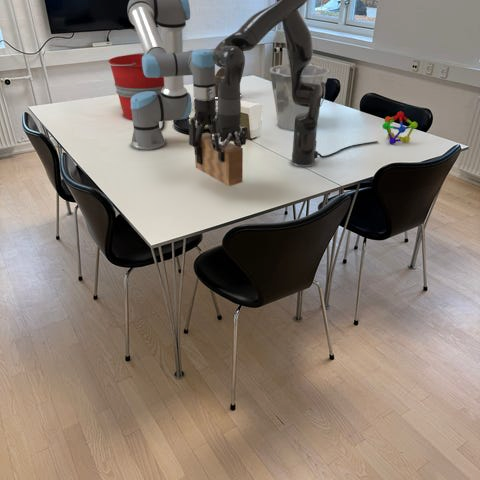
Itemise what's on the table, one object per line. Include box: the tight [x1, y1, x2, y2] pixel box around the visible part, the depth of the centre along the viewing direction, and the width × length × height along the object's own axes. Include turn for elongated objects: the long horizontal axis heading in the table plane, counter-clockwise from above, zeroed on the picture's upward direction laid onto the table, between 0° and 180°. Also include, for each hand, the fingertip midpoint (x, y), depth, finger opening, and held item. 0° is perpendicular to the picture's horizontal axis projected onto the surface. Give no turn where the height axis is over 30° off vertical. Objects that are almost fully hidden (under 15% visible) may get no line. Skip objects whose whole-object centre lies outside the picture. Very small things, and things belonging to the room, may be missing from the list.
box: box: [194, 132, 244, 187], centre depth 159 cm, size 21×6×12 cm, turn 38°
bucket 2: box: [269, 64, 330, 131], centre depth 226 cm, size 30×30×28 cm
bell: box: [215, 67, 242, 97], centre depth 278 cm, size 19×26×20 cm
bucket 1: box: [105, 52, 164, 121], centre depth 241 cm, size 35×35×30 cm
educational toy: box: [382, 110, 418, 145], centre depth 207 cm, size 16×13×15 cm
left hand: (207, 161), depth 165 cm, fingers closed on box, 6 cm apart
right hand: (229, 159), depth 153 cm, fingers closed on box, 6 cm apart
